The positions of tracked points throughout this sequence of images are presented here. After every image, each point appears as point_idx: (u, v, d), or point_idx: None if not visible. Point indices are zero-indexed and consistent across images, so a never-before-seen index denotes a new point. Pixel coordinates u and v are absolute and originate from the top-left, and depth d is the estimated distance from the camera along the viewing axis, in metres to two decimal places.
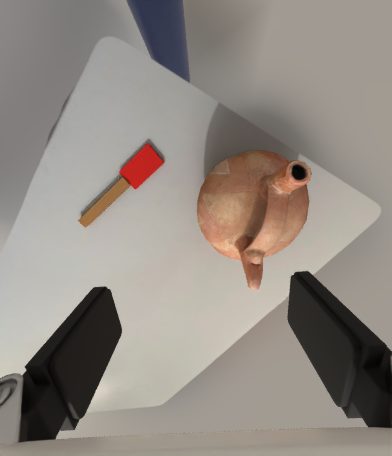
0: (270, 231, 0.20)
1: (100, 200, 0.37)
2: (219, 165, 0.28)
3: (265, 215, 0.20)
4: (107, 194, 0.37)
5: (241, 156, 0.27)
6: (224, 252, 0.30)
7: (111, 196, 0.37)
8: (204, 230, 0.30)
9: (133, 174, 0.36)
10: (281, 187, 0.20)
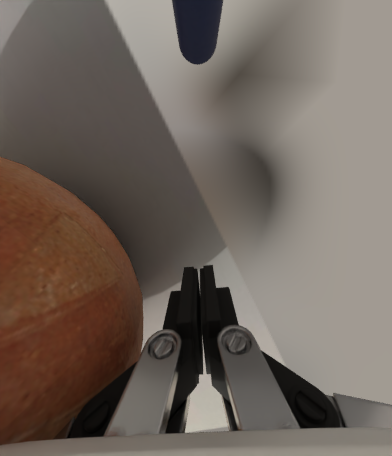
0: None
1: None
2: None
3: None
4: None
5: None
6: None
7: None
8: None
9: None
10: None
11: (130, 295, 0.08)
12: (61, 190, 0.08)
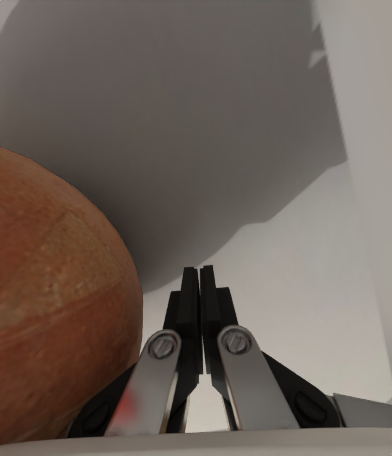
0: None
1: None
2: None
3: None
4: None
5: None
6: None
7: None
8: None
9: None
10: None
11: (133, 294, 0.08)
12: (66, 186, 0.08)
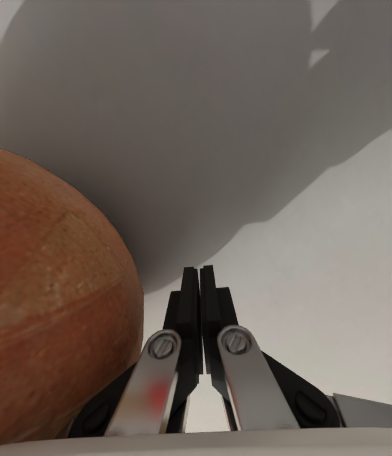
0: None
1: None
2: None
3: None
4: None
5: None
6: None
7: None
8: None
9: None
10: None
11: (133, 294, 0.08)
12: (67, 187, 0.08)
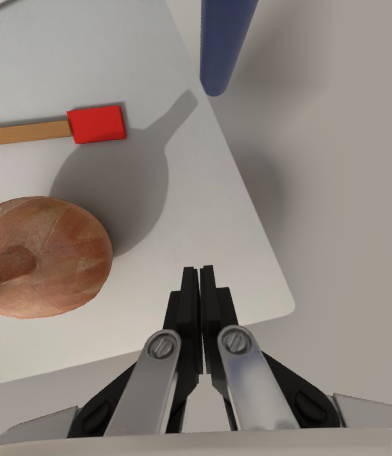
0: None
1: (23, 127, 0.28)
2: (18, 199, 0.23)
3: None
4: (36, 126, 0.28)
5: (41, 206, 0.23)
6: None
7: (40, 131, 0.28)
8: None
9: (82, 126, 0.28)
10: None
11: (107, 243, 0.28)
12: (87, 212, 0.28)
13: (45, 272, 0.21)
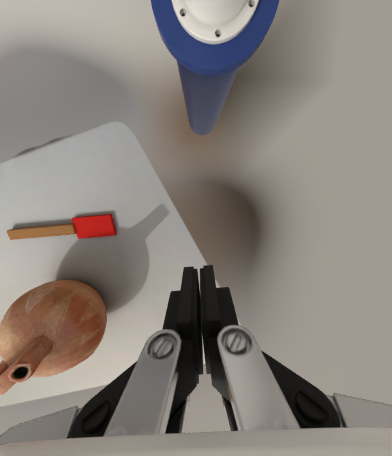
0: None
1: (39, 229, 0.37)
2: (38, 293, 0.33)
3: None
4: (49, 228, 0.37)
5: (54, 299, 0.33)
6: None
7: (52, 232, 0.37)
8: None
9: (83, 228, 0.37)
10: None
11: (101, 314, 0.38)
12: (87, 292, 0.38)
13: (59, 350, 0.31)
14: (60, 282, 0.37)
